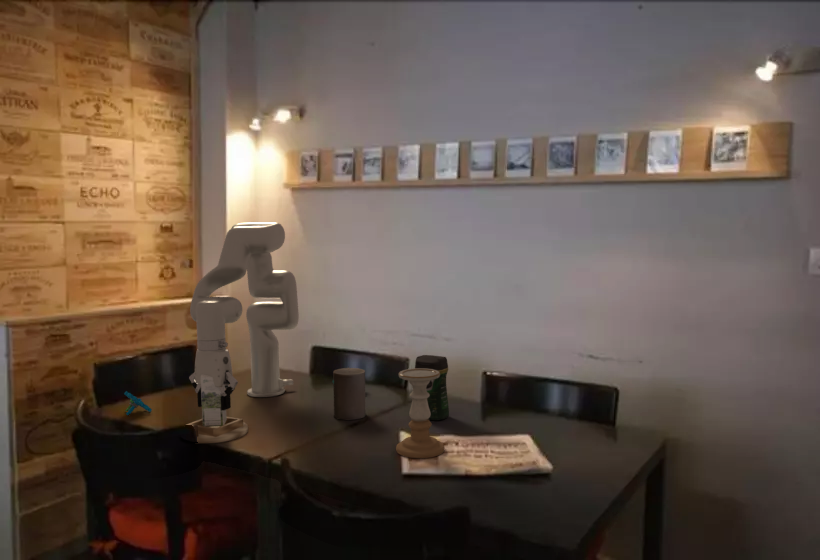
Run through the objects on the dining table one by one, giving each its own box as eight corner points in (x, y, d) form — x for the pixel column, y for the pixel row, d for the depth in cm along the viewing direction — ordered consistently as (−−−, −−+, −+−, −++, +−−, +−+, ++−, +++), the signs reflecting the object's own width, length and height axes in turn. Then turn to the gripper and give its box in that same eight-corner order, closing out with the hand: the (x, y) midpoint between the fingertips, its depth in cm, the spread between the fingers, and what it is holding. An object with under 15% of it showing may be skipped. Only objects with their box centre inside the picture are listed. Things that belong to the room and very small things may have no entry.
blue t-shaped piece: (156, 409, 212) (130, 390, 208) (143, 425, 209) (117, 406, 206) (148, 407, 221) (123, 388, 217) (135, 422, 219) (110, 403, 215)
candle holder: (397, 443, 181) (396, 367, 180) (444, 442, 181) (443, 367, 179) (394, 459, 169) (393, 378, 168) (445, 458, 169) (444, 377, 167)
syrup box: (227, 420, 196) (225, 370, 194) (223, 426, 190) (221, 374, 188) (206, 421, 195) (204, 370, 194) (202, 427, 189) (199, 375, 188)
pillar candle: (328, 418, 205) (326, 368, 204) (343, 410, 214) (342, 362, 213) (357, 421, 202) (356, 371, 201) (371, 413, 211) (370, 364, 210)
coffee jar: (452, 416, 206) (452, 354, 205) (440, 422, 199) (439, 359, 198) (424, 411, 211) (423, 351, 210) (411, 418, 204) (410, 356, 203)
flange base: (212, 421, 205) (212, 407, 204) (261, 428, 196) (260, 413, 196) (166, 438, 188) (165, 423, 188) (217, 446, 180) (216, 431, 180)
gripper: (245, 345, 190) (247, 407, 192) (197, 340, 198) (200, 401, 199) (226, 349, 183) (229, 414, 185) (178, 345, 191) (180, 407, 193)
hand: (214, 407), depth 192 cm, fingers closed on syrup box, 7 cm apart
